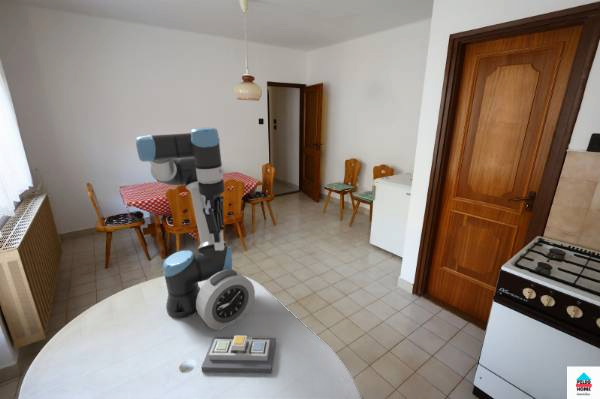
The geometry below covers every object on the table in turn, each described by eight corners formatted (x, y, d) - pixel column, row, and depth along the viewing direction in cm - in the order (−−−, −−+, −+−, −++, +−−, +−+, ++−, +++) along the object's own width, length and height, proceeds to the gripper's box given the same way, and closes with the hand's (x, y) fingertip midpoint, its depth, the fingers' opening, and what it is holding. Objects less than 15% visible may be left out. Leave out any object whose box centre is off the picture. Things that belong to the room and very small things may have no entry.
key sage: (214, 355, 91) (213, 350, 90) (218, 345, 95) (217, 340, 94) (226, 355, 91) (226, 350, 90) (230, 345, 95) (229, 340, 94)
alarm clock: (207, 336, 102) (200, 290, 95) (198, 325, 107) (191, 281, 101) (256, 308, 115) (252, 266, 109) (246, 299, 121) (242, 259, 114)
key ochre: (232, 350, 90) (231, 344, 89) (235, 340, 94) (234, 334, 93) (244, 350, 90) (243, 344, 89) (247, 340, 94) (246, 335, 93)
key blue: (251, 356, 91) (250, 350, 90) (253, 346, 94) (253, 340, 94) (263, 356, 90) (263, 351, 90) (265, 346, 94) (264, 341, 93)
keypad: (202, 371, 88) (200, 362, 87) (214, 341, 100) (213, 332, 98) (271, 373, 87) (270, 363, 86) (276, 342, 99) (275, 333, 97)
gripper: (216, 186, 79) (225, 259, 86) (229, 175, 91) (236, 240, 99) (189, 186, 79) (201, 259, 87) (206, 175, 91) (215, 240, 99)
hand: (219, 249), depth 93 cm, fingers closed
